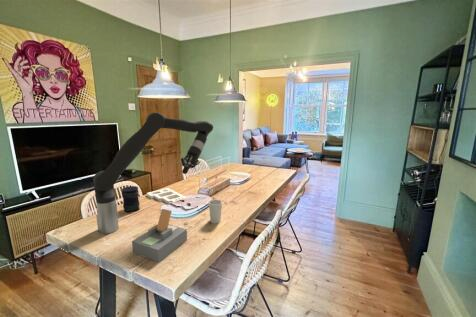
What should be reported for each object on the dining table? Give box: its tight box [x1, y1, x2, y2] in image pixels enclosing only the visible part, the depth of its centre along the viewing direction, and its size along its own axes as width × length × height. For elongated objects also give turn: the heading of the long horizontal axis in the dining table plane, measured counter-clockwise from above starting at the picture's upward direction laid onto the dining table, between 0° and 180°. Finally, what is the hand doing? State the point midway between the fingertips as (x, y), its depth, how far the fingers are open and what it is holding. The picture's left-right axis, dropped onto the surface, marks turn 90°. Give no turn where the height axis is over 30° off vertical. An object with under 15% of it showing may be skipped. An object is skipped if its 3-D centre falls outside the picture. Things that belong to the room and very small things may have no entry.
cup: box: [208, 199, 223, 224], centre depth 139 cm, size 8×8×12 cm
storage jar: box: [121, 185, 141, 214], centre depth 153 cm, size 10×10×15 cm
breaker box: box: [131, 223, 188, 263], centre depth 113 cm, size 20×16×9 cm
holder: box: [146, 187, 187, 204], centre depth 170 cm, size 45×18×3 cm, turn 44°
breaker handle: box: [156, 208, 172, 234], centre depth 114 cm, size 2×5×12 cm, turn 65°
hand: (184, 173), depth 132 cm, fingers closed
